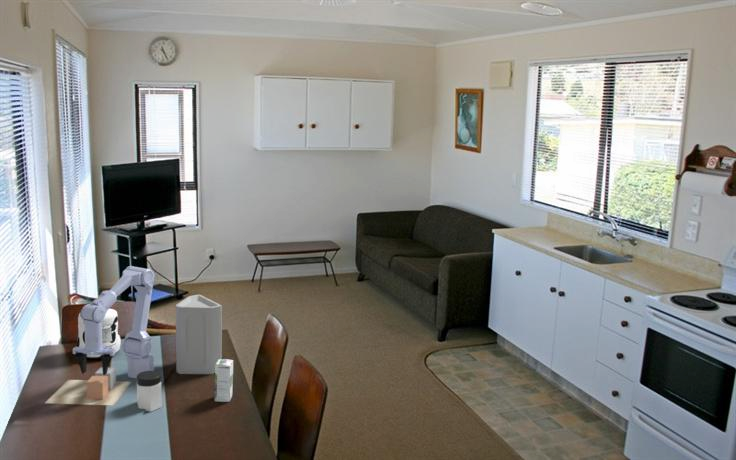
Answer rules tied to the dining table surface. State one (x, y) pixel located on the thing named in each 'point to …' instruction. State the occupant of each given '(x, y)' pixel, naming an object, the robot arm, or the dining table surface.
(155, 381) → the jar
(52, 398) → the birch board
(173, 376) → the dining table surface
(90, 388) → the terracotta cover
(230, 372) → the syrup box
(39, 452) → the dining table surface
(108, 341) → the milk container
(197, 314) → the white triangular prism
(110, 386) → the grey cover
